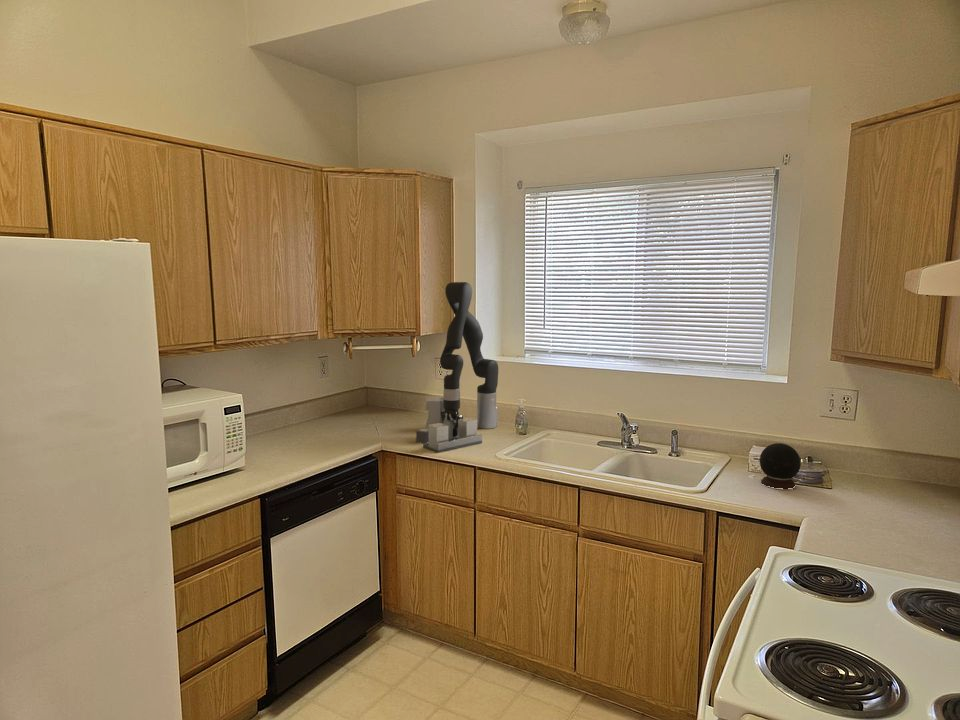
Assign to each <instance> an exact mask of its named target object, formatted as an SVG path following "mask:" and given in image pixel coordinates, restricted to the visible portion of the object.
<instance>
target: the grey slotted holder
mask: <svg viewBox="0 0 960 720" xmlns="http://www.w3.org/2000/svg"><path fill="white" fill-rule="evenodd" d="M482 443H483V434H478V427H477V418H476V419H475V418H471V417H465V418H464V417H463V419H458V437H457V438H452V439H448V425H445V424H442V423H436V424H431V425H429V442H428V443H422V448H424V449H427V450H429V451H432V452H435V453H438V454H439V453H444V452H448V451H452V450H453V451H454V450H458V449H462V448H466V447H472V446H474V445H475V446H476V445H480V444H482Z"/></svg>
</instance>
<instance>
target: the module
mask: <svg viewBox="0 0 960 720" xmlns="http://www.w3.org/2000/svg"><path fill="white" fill-rule="evenodd" d="M453 421H456V420H453ZM443 424H445V425H448V439H452V438H457V437H458V435H457V436H456V437H454V436H453V424H452V421H451V420H445V421H443ZM455 425H456V423H455Z"/></svg>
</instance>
